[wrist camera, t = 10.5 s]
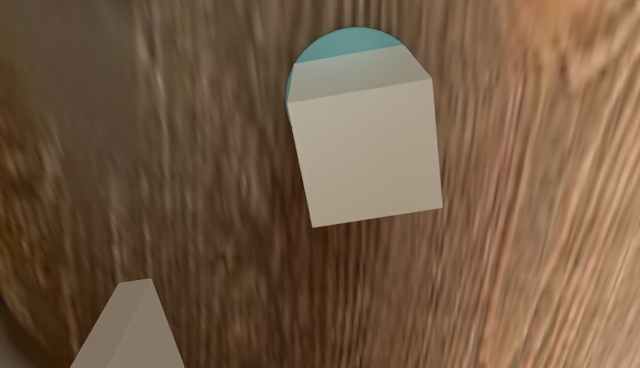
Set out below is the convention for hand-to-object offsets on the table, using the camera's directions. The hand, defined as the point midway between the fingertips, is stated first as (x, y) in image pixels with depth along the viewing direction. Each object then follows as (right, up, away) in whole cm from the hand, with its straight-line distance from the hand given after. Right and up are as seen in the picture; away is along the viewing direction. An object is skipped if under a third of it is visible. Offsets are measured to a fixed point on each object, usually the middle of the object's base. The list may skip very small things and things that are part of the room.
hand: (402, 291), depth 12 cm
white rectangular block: (0, +6, +14) cm, 15 cm away
